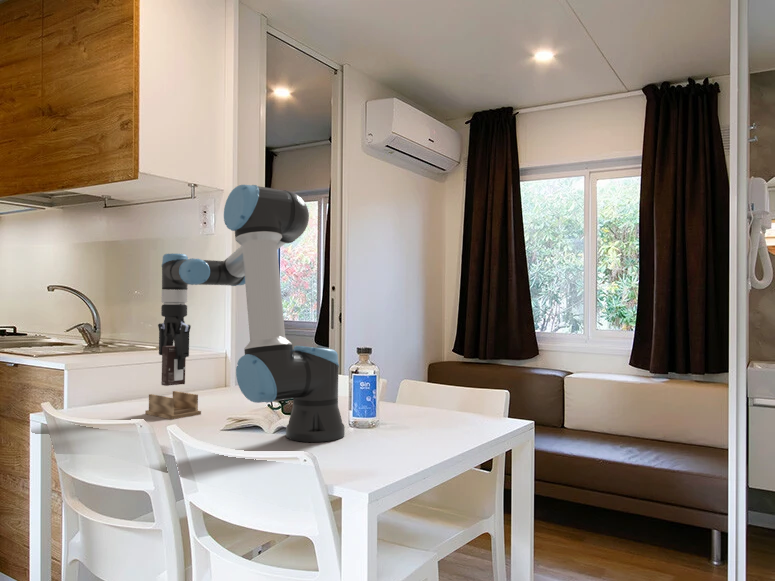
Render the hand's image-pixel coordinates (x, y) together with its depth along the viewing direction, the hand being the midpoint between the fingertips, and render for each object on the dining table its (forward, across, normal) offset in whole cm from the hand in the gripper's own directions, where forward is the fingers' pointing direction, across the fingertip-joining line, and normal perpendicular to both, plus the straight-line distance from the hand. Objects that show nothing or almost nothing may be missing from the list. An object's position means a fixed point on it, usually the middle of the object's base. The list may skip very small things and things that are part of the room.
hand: (173, 379), depth 184 cm
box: (+2, 0, 0) cm, 2 cm away
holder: (+11, 0, 0) cm, 11 cm away
